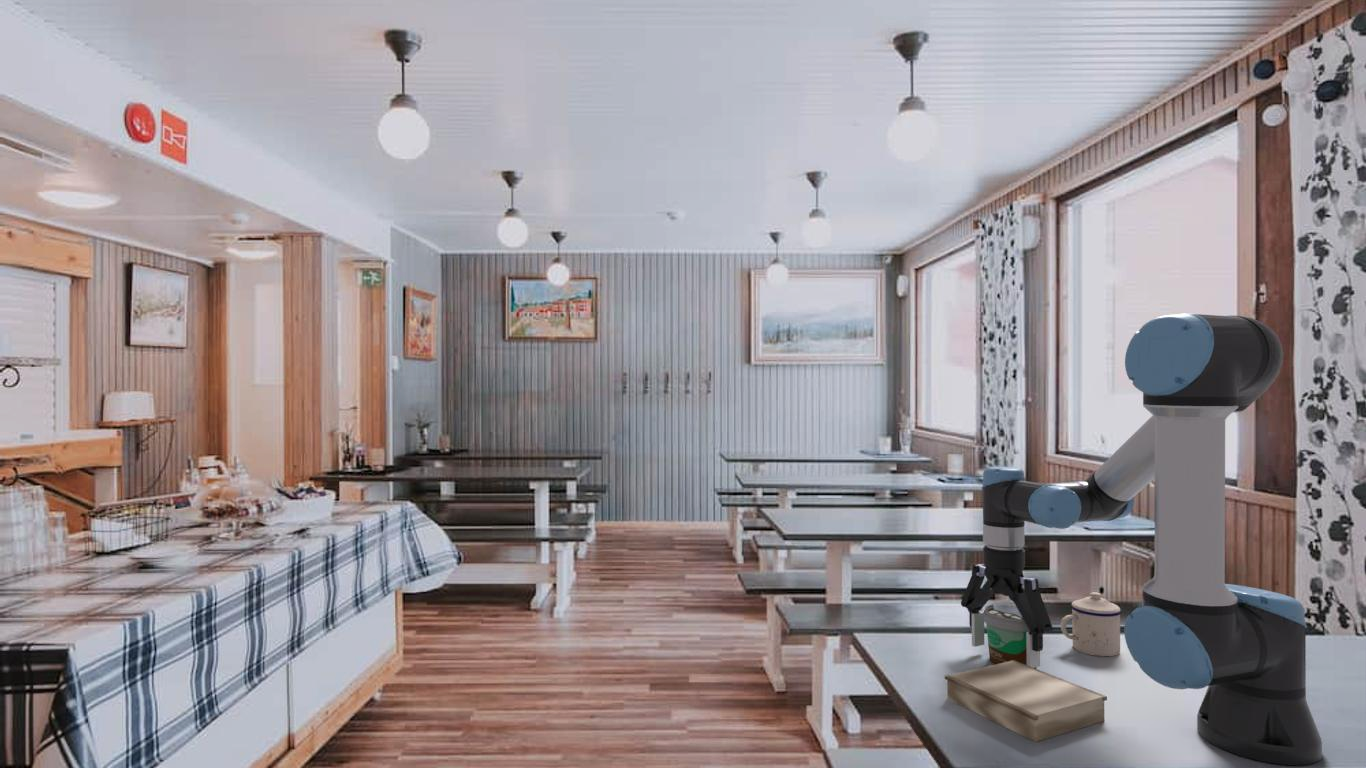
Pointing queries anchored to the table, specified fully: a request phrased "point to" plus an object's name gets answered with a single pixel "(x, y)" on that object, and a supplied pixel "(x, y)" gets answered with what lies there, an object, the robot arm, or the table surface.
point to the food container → (1005, 636)
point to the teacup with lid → (1094, 626)
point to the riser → (1026, 699)
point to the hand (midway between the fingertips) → (1004, 655)
